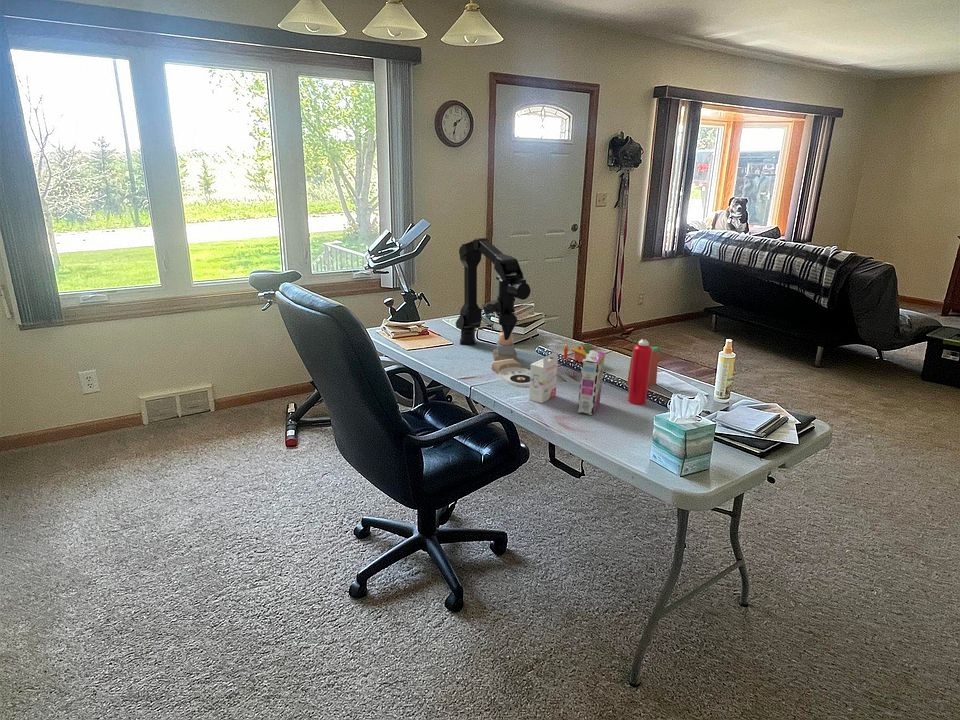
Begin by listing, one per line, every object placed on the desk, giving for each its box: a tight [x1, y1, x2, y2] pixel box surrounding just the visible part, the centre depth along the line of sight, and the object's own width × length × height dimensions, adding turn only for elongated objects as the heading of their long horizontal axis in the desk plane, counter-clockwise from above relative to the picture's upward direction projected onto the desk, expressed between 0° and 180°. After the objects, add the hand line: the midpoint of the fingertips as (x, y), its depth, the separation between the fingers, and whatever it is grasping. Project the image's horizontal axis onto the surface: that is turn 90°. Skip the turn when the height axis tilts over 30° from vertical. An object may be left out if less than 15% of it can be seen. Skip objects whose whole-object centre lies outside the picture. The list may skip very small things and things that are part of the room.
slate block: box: [496, 340, 516, 355], centre depth 211 cm, size 6×6×4 cm
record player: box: [490, 359, 530, 388], centre depth 197 cm, size 12×3×20 cm
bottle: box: [627, 338, 652, 406], centre depth 175 cm, size 5×6×20 cm
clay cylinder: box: [498, 331, 514, 346], centre depth 210 cm, size 5×5×4 cm
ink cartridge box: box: [528, 351, 559, 404], centre depth 177 cm, size 9×5×15 cm, turn 143°
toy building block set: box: [562, 342, 660, 387], centre depth 201 cm, size 12×35×14 cm, turn 34°
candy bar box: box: [577, 350, 606, 416], centre depth 170 cm, size 11×5×16 cm, turn 159°
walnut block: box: [492, 348, 518, 362], centre depth 212 cm, size 8×8×4 cm
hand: (505, 336), depth 209 cm, fingers open, 9 cm apart
